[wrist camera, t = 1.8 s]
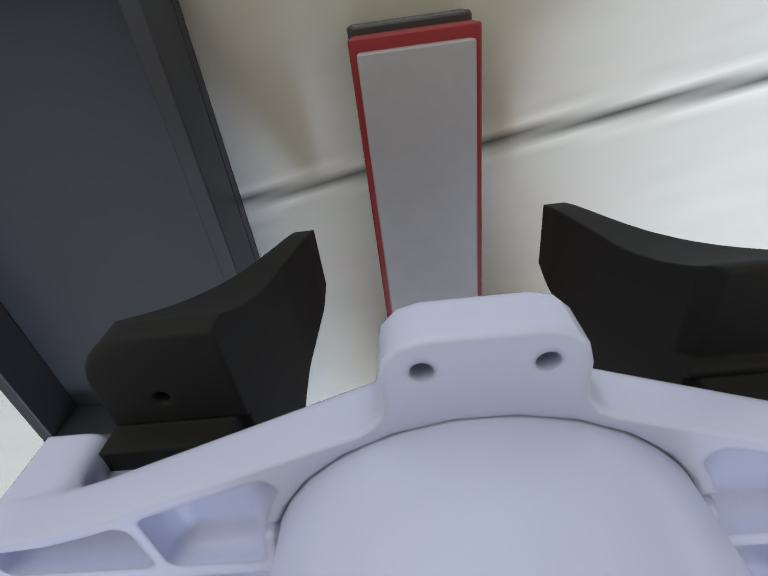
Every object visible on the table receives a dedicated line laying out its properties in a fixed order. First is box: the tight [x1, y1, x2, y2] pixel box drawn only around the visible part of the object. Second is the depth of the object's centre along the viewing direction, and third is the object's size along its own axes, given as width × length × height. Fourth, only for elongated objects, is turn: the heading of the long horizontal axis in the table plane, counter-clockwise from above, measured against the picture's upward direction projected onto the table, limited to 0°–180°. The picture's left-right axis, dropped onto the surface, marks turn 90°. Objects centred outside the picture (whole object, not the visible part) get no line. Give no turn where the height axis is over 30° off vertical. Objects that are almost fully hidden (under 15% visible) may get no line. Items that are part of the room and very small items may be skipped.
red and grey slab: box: [347, 9, 482, 317], centre depth 15 cm, size 13×4×4 cm, turn 7°
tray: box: [0, 0, 260, 442], centre depth 17 cm, size 18×12×2 cm
